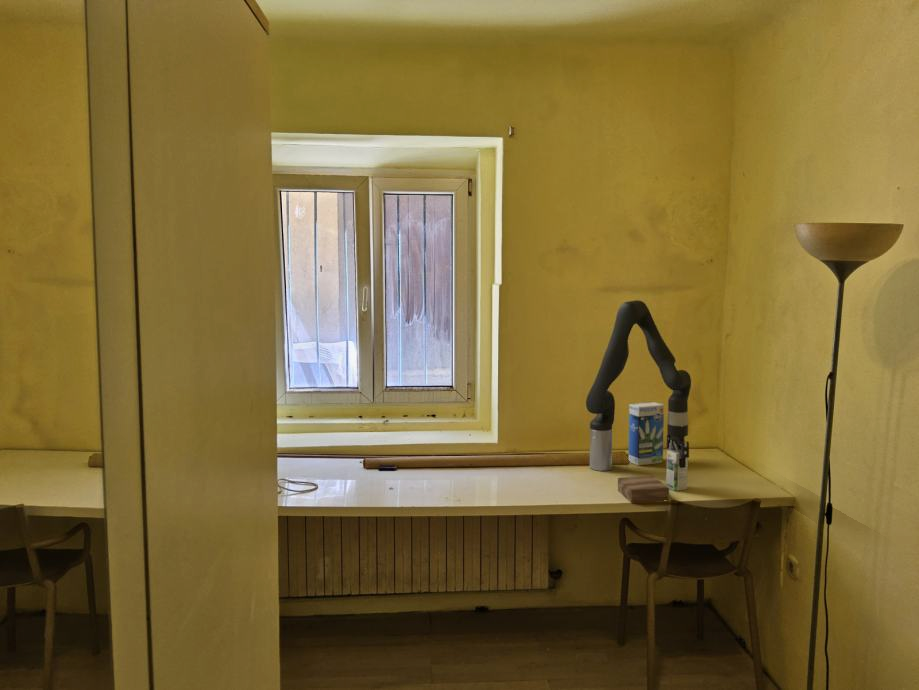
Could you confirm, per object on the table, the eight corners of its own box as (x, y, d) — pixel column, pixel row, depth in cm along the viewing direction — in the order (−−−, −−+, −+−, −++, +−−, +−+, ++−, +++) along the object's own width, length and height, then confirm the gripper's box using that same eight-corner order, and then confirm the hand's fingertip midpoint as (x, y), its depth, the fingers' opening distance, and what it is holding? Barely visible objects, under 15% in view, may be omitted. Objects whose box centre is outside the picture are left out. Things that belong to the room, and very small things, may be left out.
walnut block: (617, 490, 248) (618, 477, 247) (653, 488, 249) (653, 476, 249) (631, 503, 234) (631, 489, 233) (668, 501, 235) (668, 487, 235)
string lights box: (637, 466, 278) (638, 407, 276) (627, 461, 285) (628, 403, 283) (663, 462, 283) (664, 404, 280) (653, 458, 290) (653, 401, 287)
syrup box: (665, 487, 251) (666, 450, 249) (677, 485, 253) (678, 448, 251) (675, 491, 246) (675, 454, 244) (687, 489, 248) (688, 452, 246)
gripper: (660, 419, 253) (660, 459, 255) (676, 427, 239) (676, 470, 241) (678, 418, 254) (678, 458, 255) (695, 426, 240) (695, 469, 241)
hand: (677, 464), depth 248 cm, fingers open, 8 cm apart
